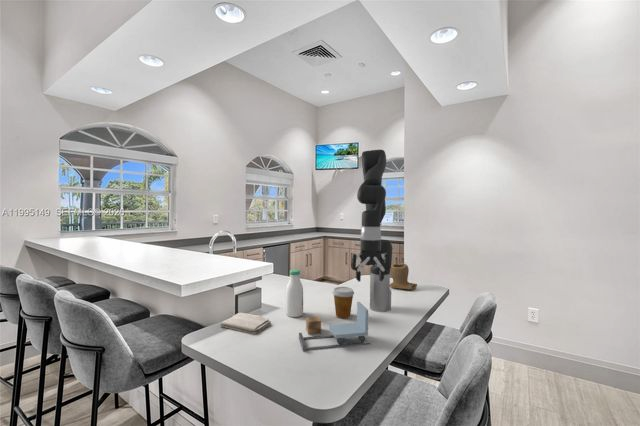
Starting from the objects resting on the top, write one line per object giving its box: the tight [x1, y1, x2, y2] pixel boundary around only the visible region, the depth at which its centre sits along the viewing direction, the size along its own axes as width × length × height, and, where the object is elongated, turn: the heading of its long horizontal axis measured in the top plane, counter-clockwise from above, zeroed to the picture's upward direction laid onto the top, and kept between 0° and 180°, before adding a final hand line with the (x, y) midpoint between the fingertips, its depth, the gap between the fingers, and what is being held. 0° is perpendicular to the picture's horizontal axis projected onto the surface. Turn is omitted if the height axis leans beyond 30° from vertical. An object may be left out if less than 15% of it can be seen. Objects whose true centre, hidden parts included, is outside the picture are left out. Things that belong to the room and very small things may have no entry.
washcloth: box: [220, 312, 272, 335], centre depth 122 cm, size 12×18×3 cm, turn 67°
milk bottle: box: [285, 269, 304, 318], centre depth 134 cm, size 8×8×20 cm
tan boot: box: [390, 262, 418, 291], centre depth 177 cm, size 15×12×15 cm
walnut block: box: [305, 315, 322, 335], centre depth 117 cm, size 5×5×5 cm
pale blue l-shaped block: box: [328, 301, 369, 345], centre depth 110 cm, size 12×9×12 cm
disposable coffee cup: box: [332, 286, 355, 320], centre depth 133 cm, size 10×10×12 cm
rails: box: [298, 332, 371, 352], centre depth 109 cm, size 24×10×2 cm, turn 102°
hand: (369, 280), depth 113 cm, fingers open, 8 cm apart
